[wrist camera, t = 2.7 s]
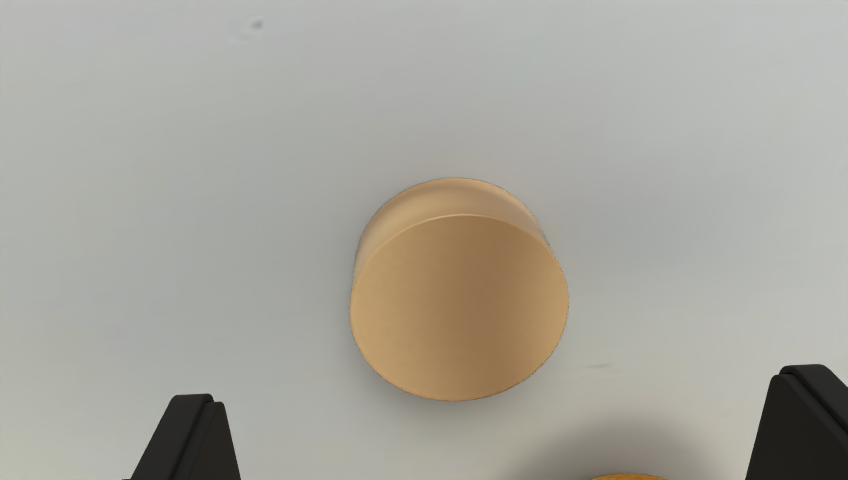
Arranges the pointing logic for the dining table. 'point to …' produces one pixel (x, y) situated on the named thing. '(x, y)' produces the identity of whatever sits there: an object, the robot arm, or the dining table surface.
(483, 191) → the lid
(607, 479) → the fruit
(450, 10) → the dining table surface
